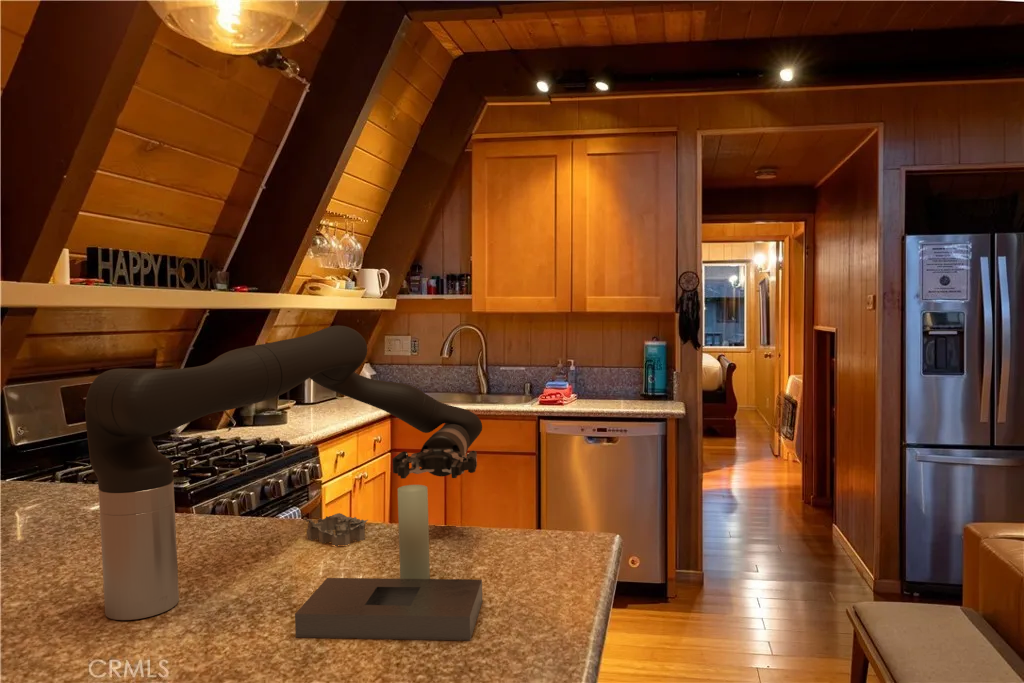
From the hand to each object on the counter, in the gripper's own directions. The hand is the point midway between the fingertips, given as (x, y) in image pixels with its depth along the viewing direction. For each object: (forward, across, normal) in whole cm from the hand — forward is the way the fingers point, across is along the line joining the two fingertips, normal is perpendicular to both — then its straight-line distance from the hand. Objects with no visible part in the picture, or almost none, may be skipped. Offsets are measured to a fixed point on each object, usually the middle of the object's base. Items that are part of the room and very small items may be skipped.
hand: (427, 472), depth 120 cm
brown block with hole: (+25, 0, +13) cm, 28 cm away
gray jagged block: (-8, -19, +14) cm, 25 cm away
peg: (+12, 0, +14) cm, 18 cm away
